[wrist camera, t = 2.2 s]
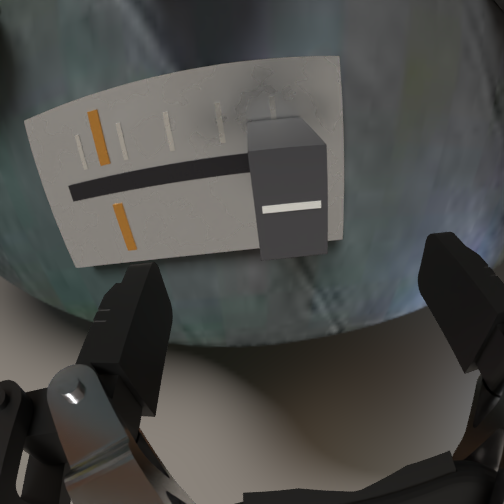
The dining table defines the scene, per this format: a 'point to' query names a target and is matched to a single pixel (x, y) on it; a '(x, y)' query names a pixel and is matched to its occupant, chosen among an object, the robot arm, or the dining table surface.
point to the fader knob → (288, 188)
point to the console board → (179, 157)
